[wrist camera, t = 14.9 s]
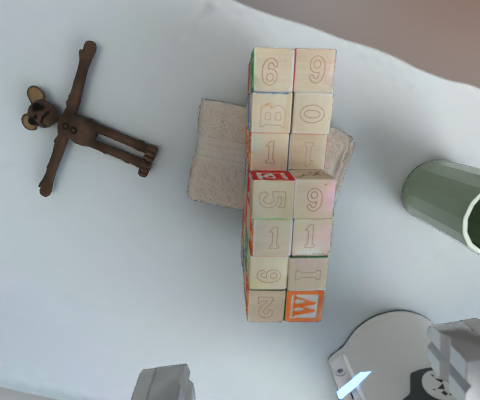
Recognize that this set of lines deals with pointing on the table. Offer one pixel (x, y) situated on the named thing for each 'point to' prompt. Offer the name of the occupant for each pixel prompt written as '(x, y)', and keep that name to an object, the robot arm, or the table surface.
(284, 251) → the stack of blocks
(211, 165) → the washcloth
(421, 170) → the pencil cup
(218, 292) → the table surface
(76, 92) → the brown toy monkey
